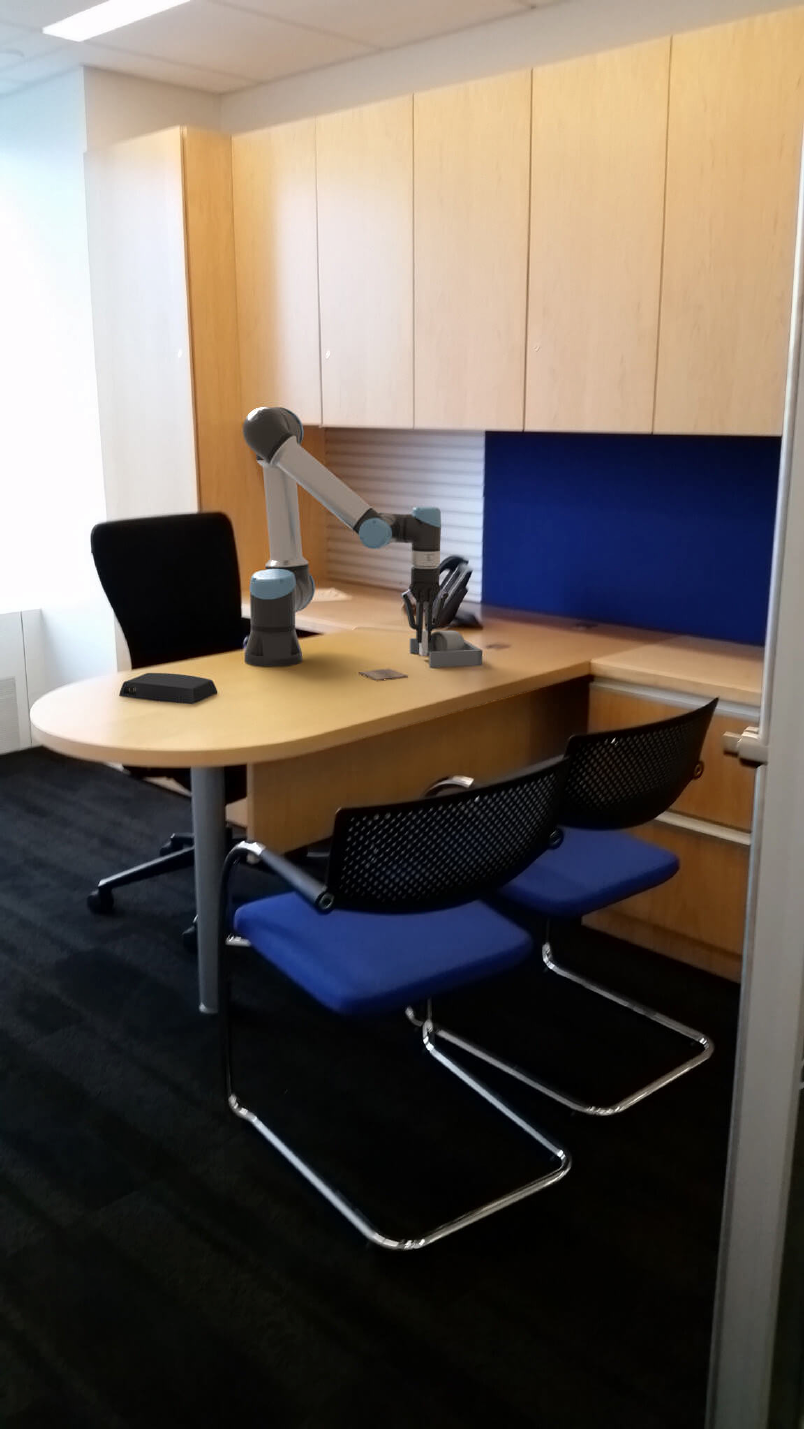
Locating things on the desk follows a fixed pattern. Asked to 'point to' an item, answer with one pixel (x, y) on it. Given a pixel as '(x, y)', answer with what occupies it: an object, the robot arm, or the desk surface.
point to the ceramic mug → (446, 641)
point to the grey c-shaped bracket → (451, 656)
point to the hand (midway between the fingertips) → (423, 654)
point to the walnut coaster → (383, 674)
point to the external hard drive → (169, 688)
